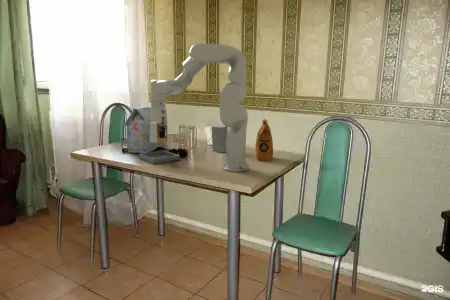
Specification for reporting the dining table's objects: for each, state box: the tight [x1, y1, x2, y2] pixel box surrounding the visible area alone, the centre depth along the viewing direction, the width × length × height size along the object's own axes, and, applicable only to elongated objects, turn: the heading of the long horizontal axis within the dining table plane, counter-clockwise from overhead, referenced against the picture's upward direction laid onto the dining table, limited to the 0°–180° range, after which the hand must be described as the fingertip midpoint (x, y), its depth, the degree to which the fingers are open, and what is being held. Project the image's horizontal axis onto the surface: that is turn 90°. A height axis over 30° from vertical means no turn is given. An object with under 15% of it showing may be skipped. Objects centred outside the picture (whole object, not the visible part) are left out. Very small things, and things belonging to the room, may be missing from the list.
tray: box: [138, 150, 181, 165], centre depth 195 cm, size 16×16×3 cm
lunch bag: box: [124, 105, 166, 154], centre depth 216 cm, size 22×17×26 cm
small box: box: [150, 122, 168, 143], centre depth 192 cm, size 8×6×10 cm
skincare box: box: [210, 124, 228, 153], centre depth 216 cm, size 8×7×16 cm
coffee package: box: [255, 118, 274, 162], centre depth 198 cm, size 10×12×22 cm
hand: (158, 136), depth 193 cm, fingers closed on small box, 6 cm apart
